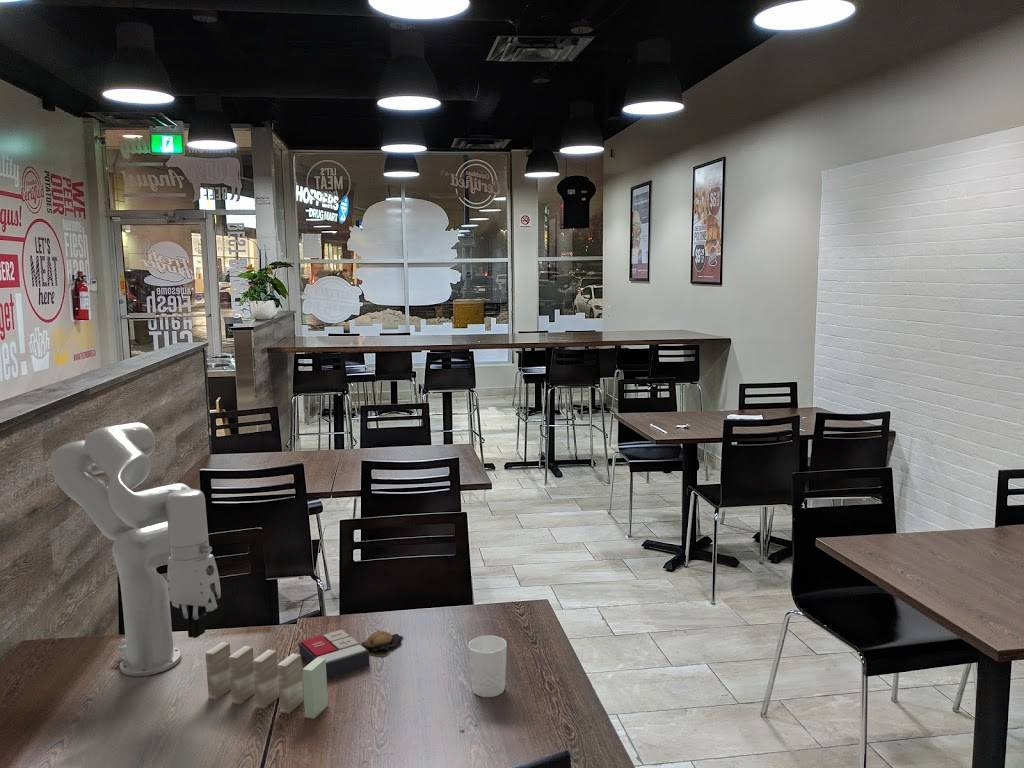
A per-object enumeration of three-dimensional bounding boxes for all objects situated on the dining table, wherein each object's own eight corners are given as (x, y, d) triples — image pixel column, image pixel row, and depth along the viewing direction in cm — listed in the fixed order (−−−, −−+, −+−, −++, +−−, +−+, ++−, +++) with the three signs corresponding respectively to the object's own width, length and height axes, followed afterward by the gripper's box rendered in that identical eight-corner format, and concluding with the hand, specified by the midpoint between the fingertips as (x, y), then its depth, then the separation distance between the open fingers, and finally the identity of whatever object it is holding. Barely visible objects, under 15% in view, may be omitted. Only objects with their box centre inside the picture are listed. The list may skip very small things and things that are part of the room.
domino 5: (305, 717, 153) (302, 669, 151) (319, 703, 157) (316, 657, 156) (313, 718, 152) (311, 670, 151) (327, 705, 157) (325, 658, 155)
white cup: (513, 684, 164) (512, 639, 163) (497, 702, 157) (496, 655, 155) (480, 676, 167) (479, 632, 166) (462, 694, 160) (461, 648, 159)
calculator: (343, 627, 185) (369, 647, 173) (344, 644, 185) (370, 666, 173) (298, 639, 179) (321, 662, 166) (299, 657, 179) (323, 681, 167)
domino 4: (280, 712, 155) (277, 664, 153) (294, 699, 159) (292, 653, 158) (288, 713, 154) (286, 666, 153) (303, 701, 159) (300, 654, 157)
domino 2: (232, 703, 158) (228, 656, 157) (247, 690, 163) (244, 645, 162) (240, 704, 158) (237, 658, 156) (255, 692, 162) (252, 646, 161)
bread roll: (386, 661, 176) (385, 645, 176) (353, 655, 179) (353, 640, 179) (408, 640, 186) (407, 625, 186) (377, 635, 189) (376, 620, 189)
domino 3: (255, 707, 157) (252, 660, 155) (271, 695, 161) (268, 649, 160) (264, 709, 156) (261, 662, 155) (279, 696, 161) (276, 650, 159)
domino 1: (208, 698, 160) (205, 652, 159) (224, 686, 165) (221, 641, 164) (216, 700, 160) (213, 654, 158) (232, 687, 164) (229, 643, 163)
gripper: (231, 546, 161) (238, 631, 163) (173, 541, 166) (181, 623, 168) (206, 559, 154) (214, 647, 156) (146, 553, 159) (154, 638, 161)
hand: (196, 634), depth 162 cm, fingers closed
